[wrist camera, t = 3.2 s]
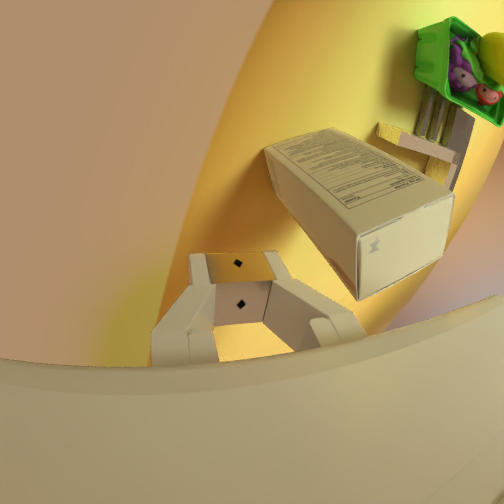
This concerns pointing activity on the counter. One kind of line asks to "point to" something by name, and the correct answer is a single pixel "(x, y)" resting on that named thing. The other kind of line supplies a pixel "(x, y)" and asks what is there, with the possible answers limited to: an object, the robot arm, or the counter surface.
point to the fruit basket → (463, 66)
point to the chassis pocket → (452, 144)
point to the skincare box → (361, 207)
